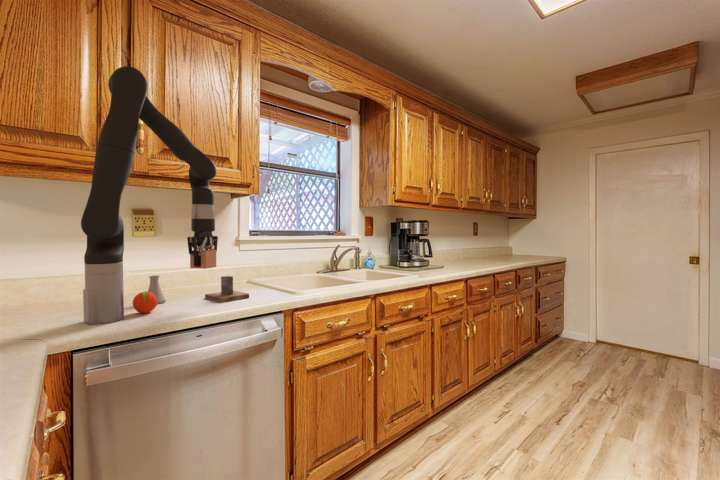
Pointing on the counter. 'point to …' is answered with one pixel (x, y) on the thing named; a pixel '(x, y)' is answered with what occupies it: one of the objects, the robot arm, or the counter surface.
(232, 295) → the post base
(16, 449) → the counter surface
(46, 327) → the counter surface
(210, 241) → the robot arm
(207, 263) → the collar
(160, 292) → the flask
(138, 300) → the red tomato
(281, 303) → the counter surface
